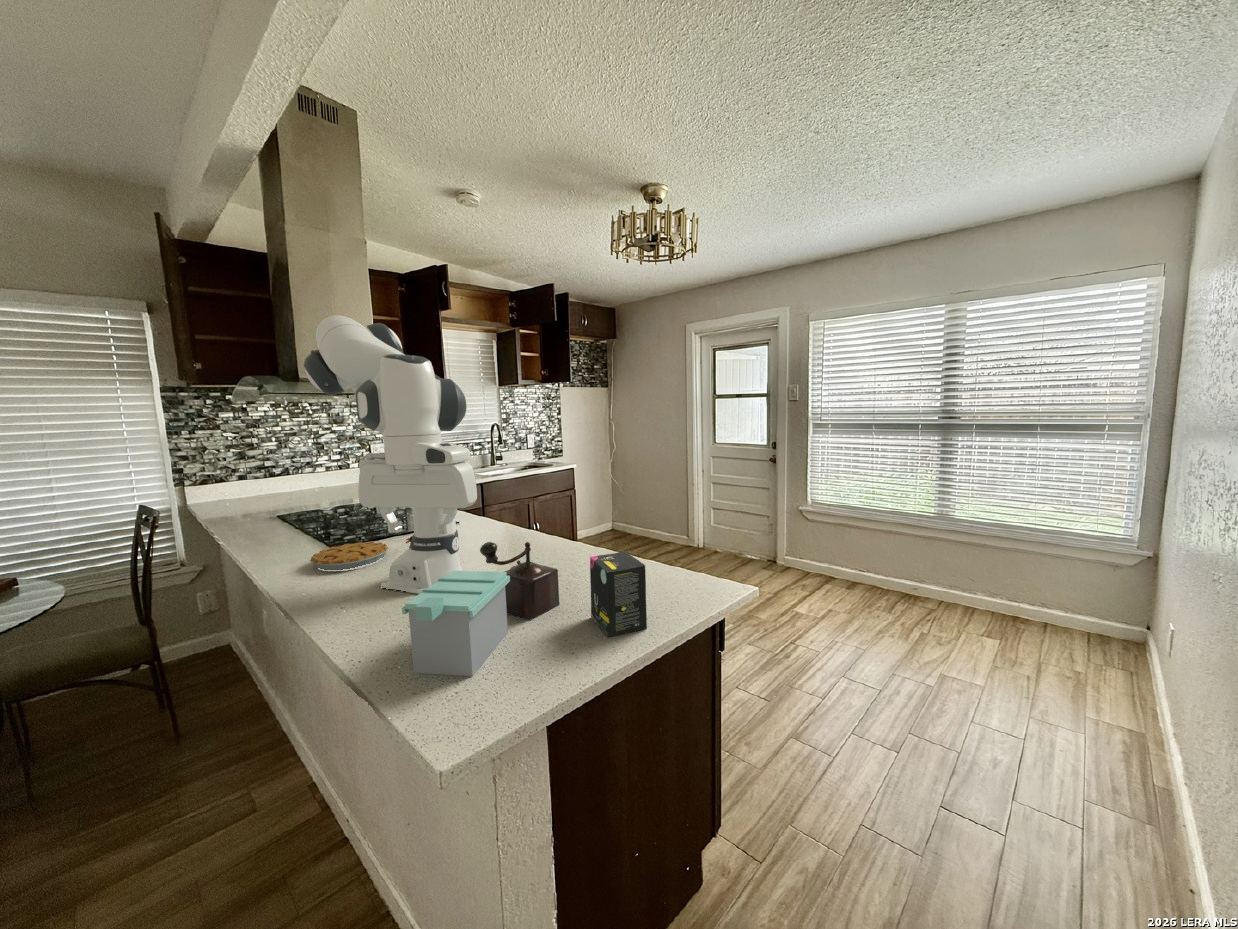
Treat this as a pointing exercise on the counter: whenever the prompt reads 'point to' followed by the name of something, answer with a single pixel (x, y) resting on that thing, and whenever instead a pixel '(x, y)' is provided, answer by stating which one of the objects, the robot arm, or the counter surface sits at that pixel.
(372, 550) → the pie
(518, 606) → the manual coffee grinder
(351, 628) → the counter surface
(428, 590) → the lid
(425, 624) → the tub
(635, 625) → the tampon box
